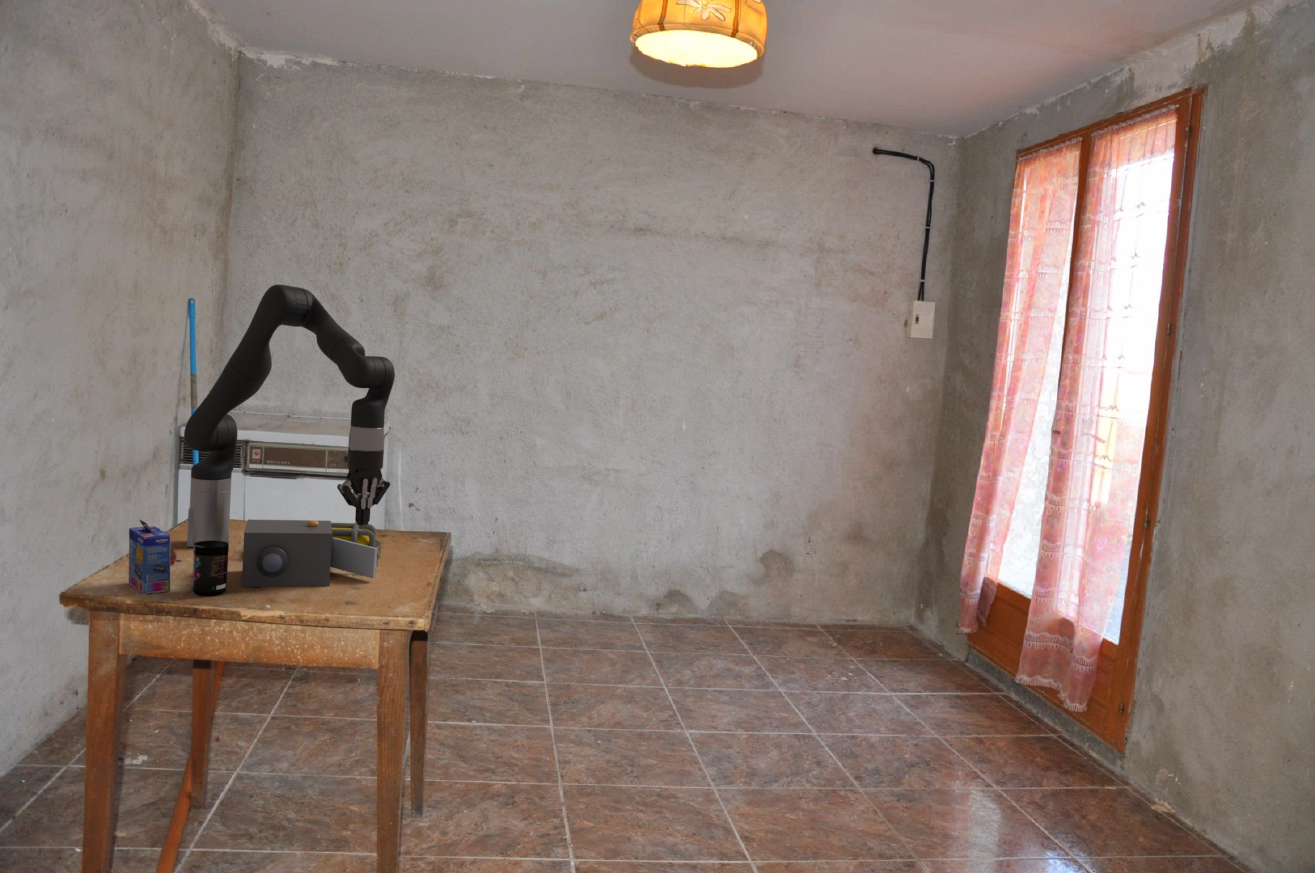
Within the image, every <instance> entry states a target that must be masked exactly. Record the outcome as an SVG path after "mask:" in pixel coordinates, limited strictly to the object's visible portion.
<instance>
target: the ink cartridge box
mask: <svg viewBox="0 0 1315 873" xmlns="http://www.w3.org/2000/svg"><path fill="white" fill-rule="evenodd" d="M139 522H140V524H141V526H140V527H139V526H138V527H136V526H135V527H129V528H128V533H129V534H128V536H129V538H128V542H129V544H128V546H129V547H128V585H130V584H131V585H132V586H131V585H130V586H131V587H133V588H134V589H135V588H136V589H135V590H136V591H137V592H139V593H141V592H142V593H143V594H142V593H141V594H142V595H150V594H149V593H152V594H158V593H157V592H161V593H168V592H170V591H171V534H169V533H167V532H166V531H164V530H161V528H158V527H157V526H155V525H153V526H149V525H148V524H147V522H146V521H143V520H141V519H139Z"/></svg>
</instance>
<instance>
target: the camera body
mask: <svg viewBox="0 0 1315 873" xmlns="http://www.w3.org/2000/svg"><path fill="white" fill-rule="evenodd" d="M331 523H332V521H331V520H313V519H312V520H308V519H307V520H306V519H304V520H301V519H300V520H299V519H297V520H296V519H247V521H246V525H245V527H244V531H243V549H242V550H243V552H242V570H241V572H242V573H241V587H242V588H259V587H260V588H261V587H262V588H263V587H264V588H266V587H267V588H269V587H272V588H273V587H274V588H275V587H277V588H279V587H280V588H282V587H283V588H286V587H330V583H331V582H330V580H331V579H330V578H331V567H330V565H331V547H332V528H331Z"/></svg>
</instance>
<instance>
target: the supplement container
mask: <svg viewBox="0 0 1315 873" xmlns="http://www.w3.org/2000/svg"><path fill="white" fill-rule="evenodd" d="M229 548H230V542H229V543H227V542H224V541H200V542H196V543H194V547H193V554H192V556H193V558H192V583H191V584H192V586H191V591H192V593H193V594H194V595H196V596H200V597H215V596H221V595H224V594H225V593H226V592H227V588H228V572H229V570H228V567H229V553H230V552H229V551H230V550H229Z"/></svg>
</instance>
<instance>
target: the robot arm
mask: <svg viewBox="0 0 1315 873" xmlns="http://www.w3.org/2000/svg"><path fill="white" fill-rule="evenodd" d="M280 326H287V327H296V328H297V327H300V328H304V329H306V330H307V331H310V332H311V333H313V334H314V335H315V337H316V344H317V346H318V348H319V350H320V352H322V354H323V355H325V357H326V358H328V359H329V360H330V361H331V362H332V363H333V364H335V365H336V366H337V367H338V370H339V371H340V373H341V375H342V376H343V378H344V380H345V381H346V382H347V383H348V384H349V385H350V386H352V387H354V388H357V389H367V392H366V394H365V396H364V397H362V398H358V399H356V400H354V401H353V402H352V405H351V409H350V411H351V414H350V428H349V433H348V443H347V444H348V446H347V448H348V449H347V463H346V464H347V468H348V473H347V474H346V480H345V481H344V482H343V483H341V484H340V483H339V484H337V487H336V488H337V490H338V492H339V493H340V494H341V496H342V497H343V499H344V501H345V503H346V504H347V506H351V507H354V508H355V514H354V515H355V518H354V520H355V522H357V525H361V526H363V525H368V524H369V523H370V521H371V508H372V507H373V506H378V505H379V503H380V501H381V500H382V498H383V497H384V495H385V494H386V492H387V491H388V489H389V488H390V486H391V483H390V481H387V480H385V479H384V478H383V473H382V469H383V468H384V458H385V457H384V455H385V453H384V452H385V415H386V414H385V413H386V412H385V411H386V407H387V404H388V401H389V398H390V395H391V393H392V392H391V391H392V389H393V387H394V383H395V377H396V373H395V368H394V364H393V363H392V361H391V360H390V359H389V358H388V357H385V356H378V355H377V356H375V355H366V350H365V347H364V346H363V344H361V343H360V341H358V340H357V339H356V338H355V337H353V335H351V334H350V333H348V331H346V330H345V329H343V328H342V327H341V325H339V323H337V321H336V320H335V319H334V318H333V317H332V315H331V314H329V312H328V310H326V308H325V307H324V306H323V304H322V303H321V302H320V301H319V300H318V298H317V297H316V296H315V295H314V294H313V293H312V292H311V291H310V290H309V289H306V288H303V287H297V286H291V285H286V284H273V285H271V286H270V287H268V288H267V289H266V291H265V292H264V294H263V295H262V297H261V299H260V301H259V303H258V306H257V307H256V310H255V313H254V315H253V317H252V319H251V321H250V324H249V325H248V328H247V329H246V332H244V335H243V337H242V339H241V340H240V341H239V343H238V345H237V347H236V349H235V350H234V352H233V354H232V355H231V356H230V358H229V359H228V361H227V363H226V364H225V366H224V368H223V370H222V371H221V374H220V375H219V377H218V378H217V380H216V382H215V383H214V384H213V386H212V388H211V389H210V391H209V392H208V394H207V395H206V396H205V398H204V399H203V401H201V403H200V404H199V405H198V406H197V408H196V409H195V410H194V411H193V412H192V414H191V415H190V417H189V419H188V420H187V422H186V424H185V426H184V427H185V428H184V432H183V438H184V443H185V444H186V446H187V447H188V448H190V450H193V451H196V452H197V451H198V452H208V454H207V456H206V457H205V458H204V459H203V460H201V461H199V462H197V463H195V464H193V465H192V466H191V469H190V490H189V491H190V492H189V494H190V495H189V508H188V510H187V511H188V512H187V514H188V515H187V537H186V547H187V548H189V547H191V548H194V543H196V542H200V541H224V542H227V543H229V544H230V542H229V541H230V540H229V539H230V520H231V519H230V517H231V498H232V497H231V496H232V492H231V491H232V474H233V473H232V472H233V470H234V467H235V464H236V454H237V445H238V427H237V423H236V420H235V419H234V418H233V417H232V415H230V414H229V413H230V412H231V411H232V410H234V409H236V408H237V407H238V406H240V405H242V404H243V403H245V402H246V401H248V400H249V399H250V398H253V396H254V395H256V393H258V391H259V390H260V389H261V387H262V386H263V384H264V383H265V381H266V379H267V377H269V374H270V373H271V371H272V363H273V362H272V354H271V348H270V342H271V339H272V338H273V336H274V333H275V332H276V330H277V329H278V328H279V327H280Z"/></svg>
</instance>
